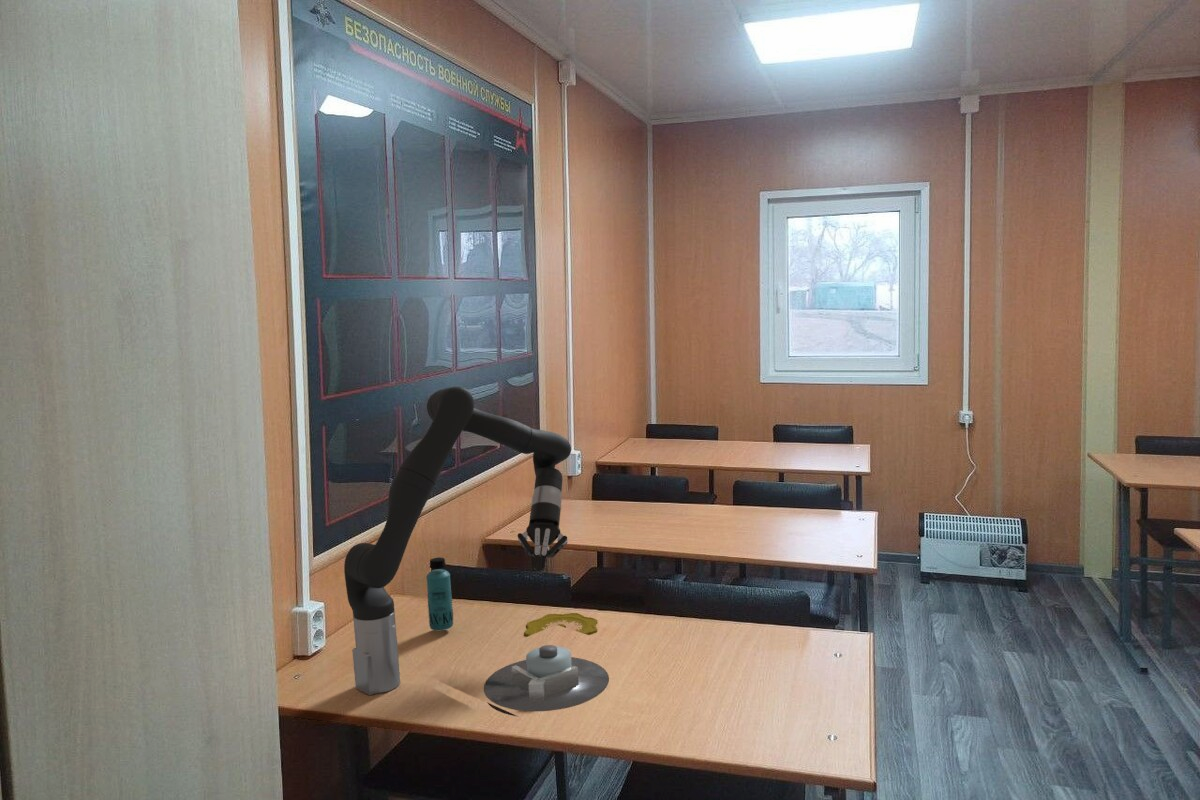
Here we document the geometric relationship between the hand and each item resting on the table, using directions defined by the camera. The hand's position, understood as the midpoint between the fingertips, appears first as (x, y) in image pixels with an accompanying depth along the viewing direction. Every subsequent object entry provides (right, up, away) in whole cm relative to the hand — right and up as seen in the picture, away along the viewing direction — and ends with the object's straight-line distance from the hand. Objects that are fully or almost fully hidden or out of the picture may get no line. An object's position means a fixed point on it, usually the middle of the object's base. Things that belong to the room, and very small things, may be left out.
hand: (539, 571), depth 215 cm
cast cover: (+3, -21, -16) cm, 27 cm away
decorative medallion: (+4, -19, +20) cm, 28 cm away
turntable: (+3, -23, -16) cm, 28 cm away
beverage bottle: (-27, -20, +22) cm, 40 cm away
